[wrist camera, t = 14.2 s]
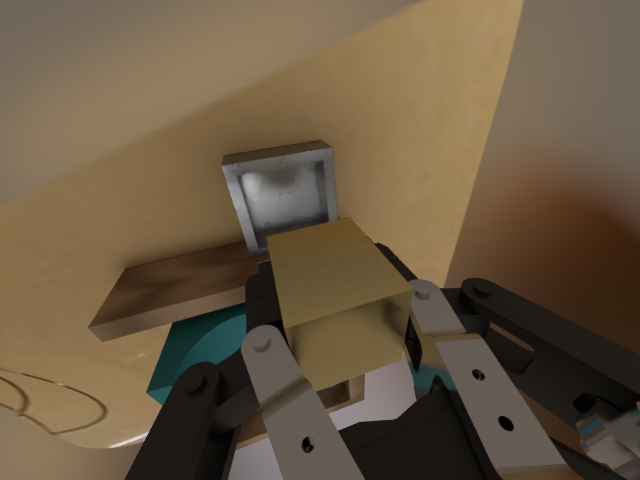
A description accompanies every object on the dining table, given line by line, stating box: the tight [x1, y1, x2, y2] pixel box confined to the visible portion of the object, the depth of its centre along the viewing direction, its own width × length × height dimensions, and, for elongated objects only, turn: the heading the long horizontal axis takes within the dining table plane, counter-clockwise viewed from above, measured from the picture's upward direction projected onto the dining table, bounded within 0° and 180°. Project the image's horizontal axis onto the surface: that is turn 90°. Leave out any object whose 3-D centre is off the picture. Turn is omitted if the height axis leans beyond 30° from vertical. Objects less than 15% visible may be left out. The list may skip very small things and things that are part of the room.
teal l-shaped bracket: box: [146, 302, 336, 406], centre depth 24 cm, size 18×11×10 cm, turn 9°
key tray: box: [222, 140, 338, 259], centre depth 19 cm, size 8×8×3 cm
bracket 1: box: [88, 219, 365, 450], centre depth 26 cm, size 19×25×6 cm
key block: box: [266, 217, 413, 391], centre depth 10 cm, size 4×4×5 cm
